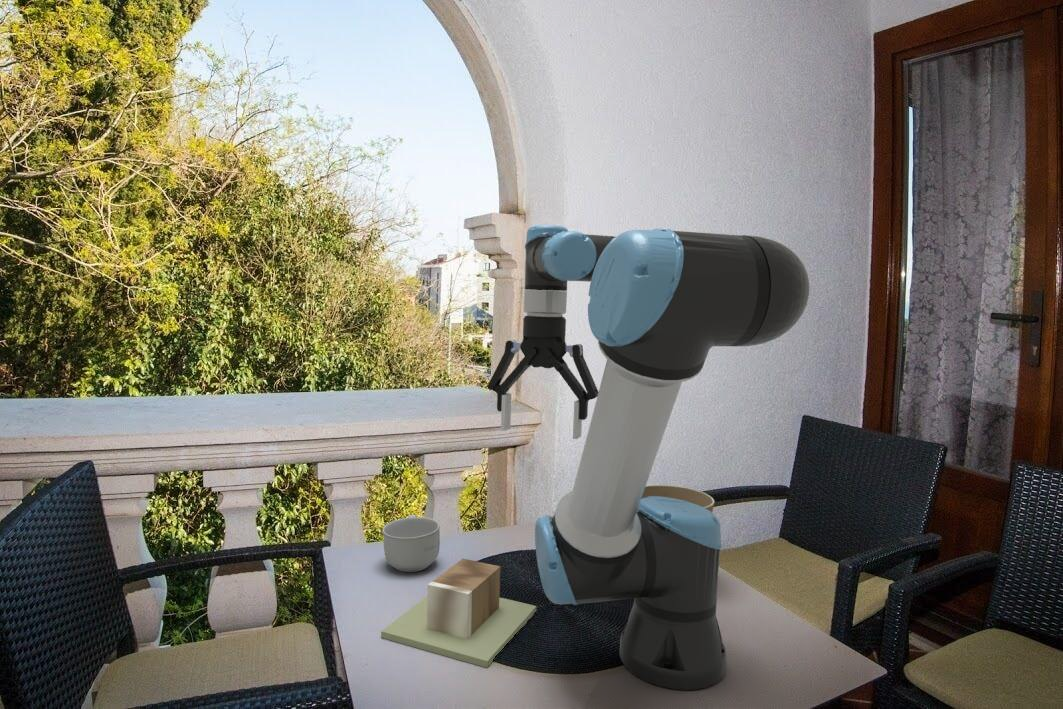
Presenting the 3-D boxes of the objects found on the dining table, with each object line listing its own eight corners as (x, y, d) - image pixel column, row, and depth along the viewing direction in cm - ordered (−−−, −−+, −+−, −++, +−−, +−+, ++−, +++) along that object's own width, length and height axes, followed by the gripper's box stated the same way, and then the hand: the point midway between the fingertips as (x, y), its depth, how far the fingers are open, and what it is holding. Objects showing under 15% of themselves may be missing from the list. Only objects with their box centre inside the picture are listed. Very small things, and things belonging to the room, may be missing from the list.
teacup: (434, 579, 117) (434, 536, 117) (375, 576, 118) (375, 534, 117) (445, 549, 131) (446, 511, 131) (393, 547, 132) (393, 509, 131)
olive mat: (536, 611, 106) (536, 606, 106) (487, 667, 90) (487, 661, 90) (442, 589, 113) (442, 583, 113) (381, 637, 97) (381, 631, 97)
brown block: (500, 566, 105) (468, 594, 95) (499, 607, 105) (467, 639, 95) (462, 558, 108) (427, 584, 97) (461, 598, 108) (426, 628, 98)
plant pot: (707, 602, 112) (713, 513, 111) (623, 587, 117) (627, 502, 115) (711, 568, 126) (715, 489, 125) (635, 556, 131) (639, 480, 129)
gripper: (619, 317, 112) (613, 436, 114) (488, 312, 121) (485, 422, 123) (609, 318, 105) (603, 445, 107) (471, 312, 114) (468, 430, 116)
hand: (540, 433), depth 115 cm, fingers open, 13 cm apart
